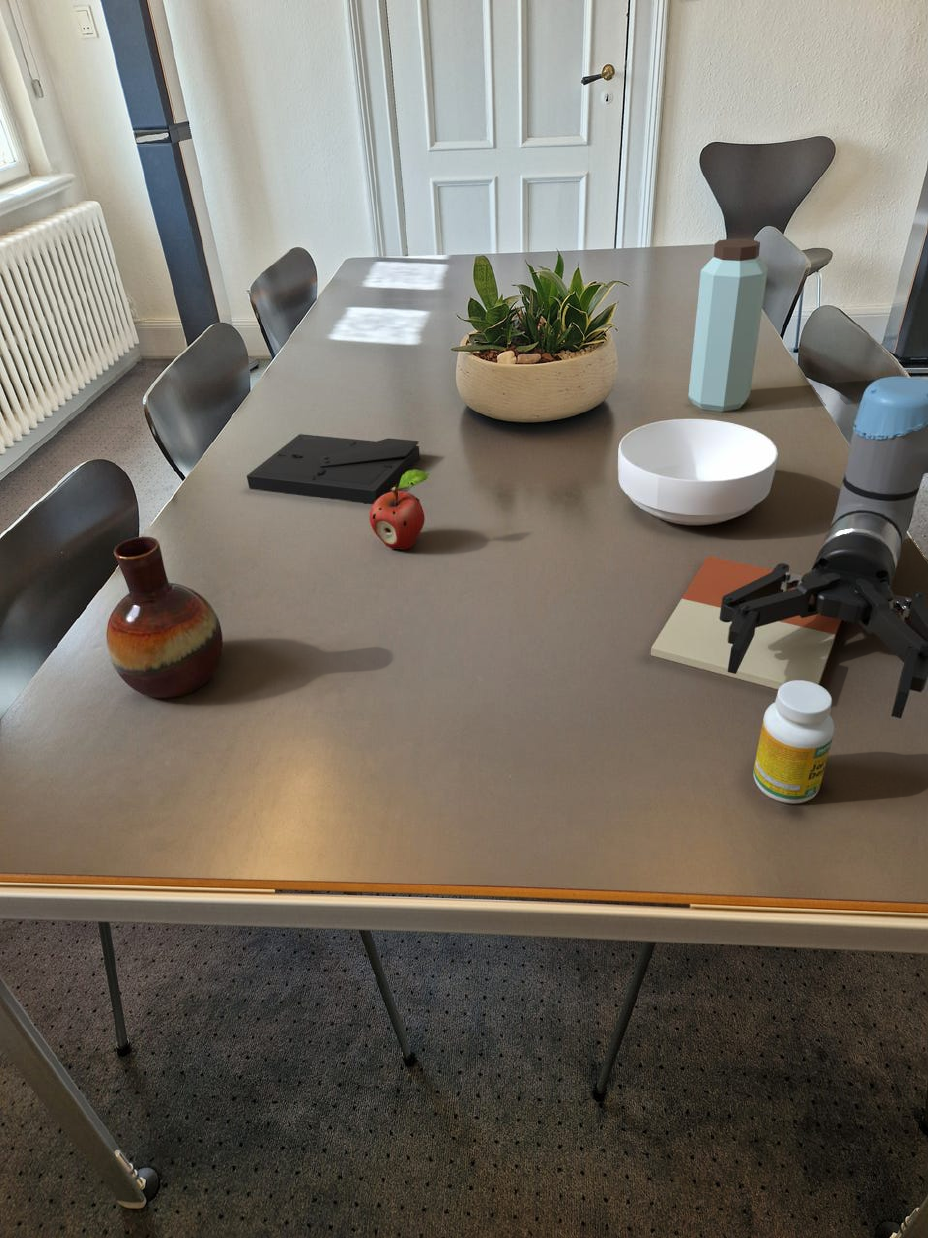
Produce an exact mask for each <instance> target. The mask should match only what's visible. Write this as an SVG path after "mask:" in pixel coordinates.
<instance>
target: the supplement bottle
mask: <svg viewBox="0 0 928 1238" xmlns="http://www.w3.org/2000/svg"><path fill="white" fill-rule="evenodd" d="M777 690H778V689H777ZM832 704H833V699H832V695H831V693H830V692H829V691H828V689H826V688H824V687H823V686H821V685H820V684H819V685H818V684H815V683H813V682H809V681H803V680H795V681H789V682H786V683H785V684H783V685H782V686H781V687H780V688H779V690H778V691H777V694H776V698H775V702H773V703H771V704H770V705H769V706H768V707H767V708H766V709H765V712H764V715H763V719H762V724H761V725H762V726H761V730H760V736H759V739H758V740H759V741H758V746H757V750H756V757H755V760H754V761H755V762H754V765H753V772H752V773H753V779H754V782H755V784H756V786H757V787H758V789H759V790H760V791H761V792H762V793H763V794H764V795H765V796H767V797H768V798H770V799H773V800H774V801H777V802H779V803H785V804H802V803H806V802H808V801H810V800H812V799H814V798H815V796H816V795H817V794H818V793H819V792H820V787H821V784H822V781H823V777H824V773H825V769H826V764H827V762H828V757H829V754H830V750H831V746H832V742H833V739H834V736H835V735H834V734H835V723H834V719H833V718H832V716H831V715H830V714H831V709H832Z"/></svg>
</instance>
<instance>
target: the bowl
mask: <svg viewBox="0 0 928 1238" xmlns="http://www.w3.org/2000/svg"><path fill="white" fill-rule="evenodd" d="M617 451H618V453H617V456H618V457H617V476H618V478H617V479H618V483H619V486H620V488H621V490H622V491H623V492H624V493H625V494H626V496H628V498H629V499H630V500H631V501H632V502H633V504H635V505H636V506H637V507H639V508H640V509H642V511H645V512H647V513H648V514H650V515H651V516H654V517H656V518H658V519H660V520H663V521H666V522H668V523H673V524H677V525H685V526H709V525H715V524H716V525H717V524H719V523H723V522H726V521H729V520H732V519H734V518H737V517H740V516H741V515H744V514H746V513H748V512H749V511H751V510H752V509H754V507H755V506H756V505H758V504H759V503H761V502H762V501H763V500H765V499H766V498H767V496H768V495H769V494H770V492H771V488H772V484H773V481H774V477H775V473H776V469H777V463H778V457H779V452H778V448H777V446H776V444H775V443H774V441H773V440H771V439H770V438H769V437H767V435H766V434H763V433H761V432H759V431H757V430H756V429H753V428H750V427H748V426H745V425H741V424H739V423H738V424H737V423H733V422H728V421H722V420H719V419H708V418H674V419H668V420H667V419H666V420H660V421H659V420H658V421H655V422H651V423H647V424H644V425H641V426H639V427H636V428H635V429H633V430H631V431H629V432H628V433H626V434H625V435H624V436H623V437H622V439H621V440H620V441H619V443H618V449H617Z"/></svg>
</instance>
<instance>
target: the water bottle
mask: <svg viewBox="0 0 928 1238" xmlns="http://www.w3.org/2000/svg"><path fill="white" fill-rule="evenodd" d="M760 247H761V241H758V240H755V239H752V238H737V237H735V238H725V239H719V240H718V241H716V242H715V243H714V248H713V257H712V258H711V259H710V260H709V261H708V262H707V263H706V264H705V265H704V266H703V267H702V269H700V274H699V283H698V284H699V285H698V294H697V295H698V296H697V306H696V314H695V315H696V316H695V325H694V337H693V346H692V355H691V356H692V357H691V367H690V375H689V386H688V398H689V400H690V402H691V403H692V404H693V405H695V406H696V407H697V408H699V409H701V410H703V411H711V412H717V413H724V412H729V411H735V410H740V409H741V408H742V406H744V405H745V403H746V402H747V400H748V398H749V397H750V396H751V390H752V384H753V375H754V368H755V362H756V355H757V348H758V342H759V333H760V328H761V327H760V326H761V321H762V320H761V319H762V312H763V306H764V299H765V291H766V285H767V284H766V283H767V277H768V271H769V267H768V266H767V265H766V263H765V262H764V260H763V259H762V257H761V256H760Z"/></svg>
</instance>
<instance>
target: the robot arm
mask: <svg viewBox="0 0 928 1238" xmlns="http://www.w3.org/2000/svg"><path fill="white" fill-rule="evenodd" d="M853 423H854V424H853V426H852V427H853V428H852V436H851V440H850V447H849V453H848V457H847V462H846V467H845V473H844V475H843V479H842V482H841V486H840V490H839V494H838V495H839V496H838V500H837V505H836V509H835V513H834V516H833V519H832V521H831V524H830V527H829V529H828V531H827V533H826V534H825V537H824V539H823V542H822V544H821V546H820V549H819V551H818V553H817V556H816V558H815V561H814V563H813V565H812V566H811V568H810V571H808V572H806V573H805V574H803V575H802V574H798V573H794V572H791V571H790V565H789V564H787V563H784V562H782V563H781V562H780V563H777V564H776V566H775V567H774V569H772V570H773V571H772V572H771V573H769V574H767V575H765V576H763V577H761V578H759V579H757V580H755V581H753V582H751V583H749V584H747V585H745V586H743V587H741V588H739V589H737V590H735V591H733V592H731V593H729V594H727V595H725V596H723V597H722V603H721V610H720V617H719V619H720V620H721V621H722V622H732V623H731V625H730V627H729V632H728V639H727V640H728V643H730V644H733V645H732V647H731V652H730V659H729V665H728V672H730V673H733V674H736V673H737V671H738V669H739V666H740V664H741V662H742V660H743V658H744V656H745V654H746V652H747V650H748V648H749V645H750V643H751V641H752V639H753V637H754V634H755V628H756V627H760V626H763V625H767V624H770V623H774V622H777V621H781V620H785V619H788V618H792V617H795V616H800V617H801V618H805V617H809V616H812V615H816V614H819V613H821V614H820V615H821V616H825V617H832V618H839V619H841V621H844V622H847V623H852V624H855V622H856V623H857V624H858V625H860V627H861V628H862V629H863V630H864V631H865V632H866V633H868V634H870V635H871V634H874V635H875V636H876V637H877V638H878V639H879V640H880V641H881V642H882V643H883V644H884V645H885V646H886V647H887V648H889V650H890V651H891V652H892V653H893V654H895V656H897V658H899V660H901V661H902V663H903V665H902V668H901V669H902V670H901V673H900V676H899V681H898V685H897V690H896V694H895V698H894V701H893V706H892V710H891V715H890V716H891V717H893V718H897V719H902V717H903V714H904V710H905V707H906V704H907V701H908V698H909V695H910V691H913V692H917V693H922V692H923V691H924V689H925V687H926V684H927V681H928V606H927V600H926V599H927V597H926V594H925V593H924V592H921V591H913V592H911V595H910V597H906V596H900V595H894V592H893V591H892V586H893V582H894V579H895V575H896V570H897V566H898V565H899V564H898V563H899V561H900V557H901V554H902V548H903V544H904V541H905V539H906V536H907V532H908V531H909V529H910V526H911V523H912V519H913V515H914V510H915V508H914V507H915V504H916V501H917V496H918V493H919V491H920V488H921V484H922V481H923V479H924V475H925V474H928V379H925V378H920V377H906V376H888V377H882V378H879V379H877V380H874V381H873V382H872V383H870V384H869V385H868V386H867V387H866V388H865V390H864V392H863V394H862V398H861V401H860V403H859V406H858V410H857V413H856V417H855V420H854V421H853ZM792 588H795V589H792ZM790 589H792V590H790ZM893 610H894V611H896V612H897V613H895V612H894V611H893Z"/></svg>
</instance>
